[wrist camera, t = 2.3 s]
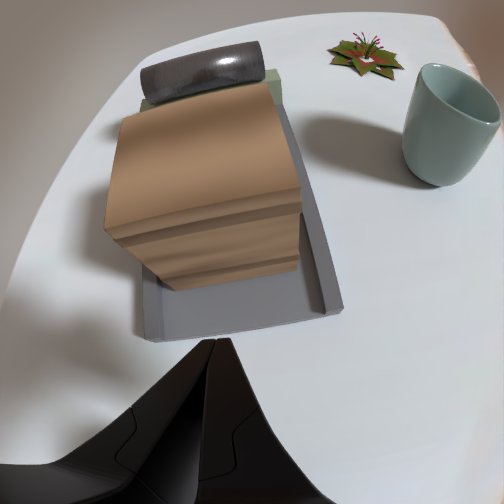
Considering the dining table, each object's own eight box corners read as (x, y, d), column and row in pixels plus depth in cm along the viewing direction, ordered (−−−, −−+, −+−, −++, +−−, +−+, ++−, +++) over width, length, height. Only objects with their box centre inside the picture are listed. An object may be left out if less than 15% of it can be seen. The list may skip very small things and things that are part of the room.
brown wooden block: (298, 269, 21) (302, 186, 12) (175, 291, 22) (101, 229, 12) (278, 180, 24) (268, 82, 15) (172, 202, 25) (121, 119, 16)
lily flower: (405, 56, 34) (410, 33, 30) (404, 92, 30) (411, 65, 26) (333, 38, 37) (334, 15, 33) (316, 69, 33) (316, 41, 29)
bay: (339, 313, 21) (370, 271, 12) (155, 342, 21) (84, 318, 13) (277, 100, 30) (270, 32, 22) (158, 126, 31) (129, 66, 23)
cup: (391, 184, 24) (423, 100, 15) (394, 130, 27) (415, 53, 18) (462, 208, 22) (513, 139, 13) (457, 151, 25) (490, 84, 16)
